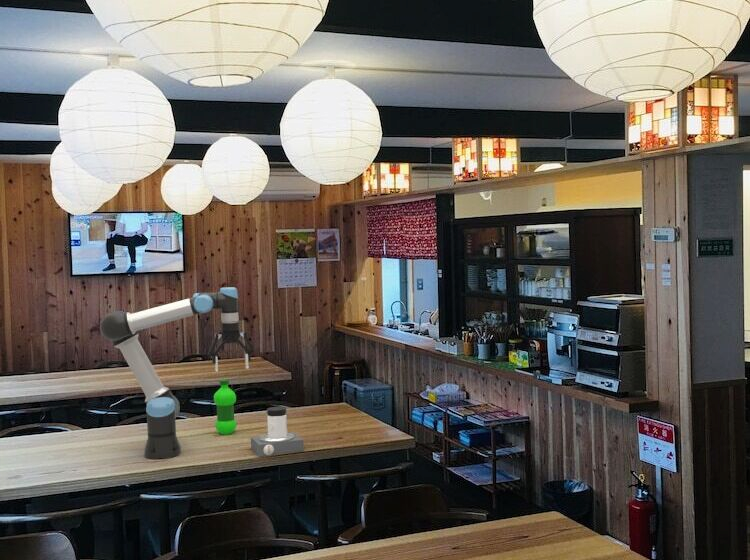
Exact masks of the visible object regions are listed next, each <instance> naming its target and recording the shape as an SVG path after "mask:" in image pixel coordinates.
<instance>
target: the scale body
mask: <svg viewBox="0 0 750 560" xmlns="http://www.w3.org/2000/svg"><path fill="white" fill-rule="evenodd" d="M287 433H292V434H294V438H293V439H292V440H289V441H284V442H274V443H271V442H262V441H260V440H259V436H260V435H253V436H252V435H251V436H250V449H251V448H252V449H251V450H252V451H253V450H254V451H253V452H254V453H255V454H256V455H257V456H258V457H261V458H262V457H268V456H275V455H276V456H277V455H284V454H285V455H286V454H292V453H294V454H295V453H301V452H304V439H303V438H302V437H300V436H299V435H298V434H297V433H295V432H294V431H289V432H288V431H287Z"/></svg>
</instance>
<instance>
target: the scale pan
mask: <svg viewBox="0 0 750 560" xmlns="http://www.w3.org/2000/svg"><path fill="white" fill-rule="evenodd" d="M258 436H259V440H260V441H262V442H271V443H274V442H284V441H289V440H292V439H293V438H294V434H292V433H287V437H283V438H278V439H276V438H268V432H267V433H264V434H261V435H258Z"/></svg>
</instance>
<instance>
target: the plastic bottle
mask: <svg viewBox="0 0 750 560" xmlns="http://www.w3.org/2000/svg"><path fill="white" fill-rule="evenodd" d="M229 384H230V380H229V379H220V380H219V385H220V388H218V390H217V391H216V392H215V393H214V395H213V402H214V404H215V405H216V417H217V420H216V421H215V428H216V431H217V432H218V433H220V435H223V434H224V435H232V433H233V432H234V431H236V429H237V422H236V419H235V405H234V404H235V403H236V401H237V395H236V393H235V391H233V389H232V388H230V387H229Z"/></svg>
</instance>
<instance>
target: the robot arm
mask: <svg viewBox="0 0 750 560" xmlns="http://www.w3.org/2000/svg"><path fill="white" fill-rule="evenodd" d="M238 294H239V293H238V289H237V288H236V287H231V286H228V287H227V286H226V287H221V288H220V290H219V291H217V292H198V293H197V292H196V293H193V295H192V297H189V298H186V299H182V300H179V301H173V302H171V303H170V302H169V303H167V304H163V305H159V306H155V307H152V308H149V309H144V310H141V311H136V312H133V313H131V312H129V311H127V312H126V311H120V310H115V311H113V312H111V313H109V314H107V315H105V317H103V318H102V319H101V320H100V321H101V322H100V324H99V331H100V333H101V335H102V336H103V337H104V338H105V339H107V340H108V341H110V342H111V343H112V345H113V347H114V348H117V349H119V350H120V352H121V354H122V355H123V358H124V359H125V361H126V363H127V364H128V366H129V368H130V371H131V372H132V373H133V375H134V377H135V378H136V381H137V383H138V384H139V386H140V388H141V390H142V391H143V394H144V395H145V399H144V403H145V404H146V407H145V411H146V422H147V423H146V424H147V425H146V426H147V427H146V428H147V439H146V442H145V447H144V451H143V457H144V458H146V457H147V459H150V458H152V459H151V460H160V459H159V458H163V459H168V458H167V457H170V458H173V457H172V456H174V457H177V456H179V455H181V454H182V448H181V447H182V446H181V444H180V442H179V439H178V437H177V432H176V431H177V430H176V429H177V427H176V418H177V417H178V416H179V413H180V409H181V408H180V402H179V400H178V398H177V397H176V396H175V395H173V393H172V391H171V390H170V388H169V387H166V386H164V385H163V382H162V381H161V379H160V377H159V375H158V373H157V372H156V369H155V368H154V366H153V364H152V362H151V361H150V359H149V357H148V355H147V354H146V351H145V349H143V346H142V345H141V343H140V341H139V335H140V334H139V332H138V331H142V330H144V329H148V328H151V327H156V326H159V325H163V324H166V323H170V322H174V321H178V320H181V319H185V318H188V317H192V316H195V315H200V314H206V313H208V312H211V310H220V314H221V316H220V317H221V318H220V319H221V322H222V323H221V334H217V333H215V334H214V337H213V338H214V339H213V341H212V343H211V345H210V348H209V349H208V352H207V355H209V356H210V357H212V358H211V359H212V360H211V361H212V364H213V365H214V371H215V372H219V367H218V366H219V364H218V363H219V362H218V361H219V360H218V356H217V355H218V354H219V352H220V351H221V350H222V349H223V347H224V346H225V345H226V344H235V343H237V344H238V345H239V346H240V347H241V348H242V349H243V351H245V352H246V353H245V354H244V356H245V357H244V358H245V359H244V361H245V369H246V370H247V369H248V370H249V369H250V367H249V362H250V361H251V354H252V353H254V352H255V349H254V347H253V345H252V344H251V341H250V340H249V338H248V336H247V332H245V331H243V332H240V323H239V321H240V320H239V297H238V296H239V295H238ZM240 337H241V338H243V340H244V342H245V344H246V345H247V347H246V345H245V344H243V342H242V341H241V340H240ZM220 338H221V339H222V340H221V342H220V343H219V344H218V341H219V340H220ZM217 344H218V346H217ZM216 346H217V347H216ZM180 453H181V454H180ZM176 455H177V456H176Z"/></svg>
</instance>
